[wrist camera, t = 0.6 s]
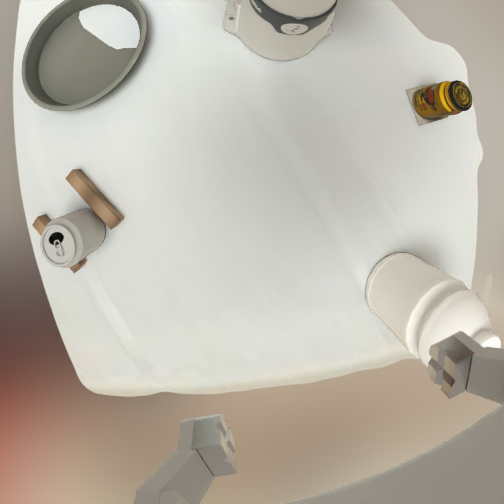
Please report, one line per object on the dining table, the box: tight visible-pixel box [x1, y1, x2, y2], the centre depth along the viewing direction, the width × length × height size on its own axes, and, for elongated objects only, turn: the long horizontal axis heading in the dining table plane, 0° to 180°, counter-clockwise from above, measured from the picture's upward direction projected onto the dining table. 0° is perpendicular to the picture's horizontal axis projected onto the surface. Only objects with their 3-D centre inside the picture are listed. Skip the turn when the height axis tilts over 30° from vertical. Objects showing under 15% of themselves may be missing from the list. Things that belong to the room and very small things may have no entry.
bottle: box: [366, 253, 501, 367], centre depth 44 cm, size 14×14×28 cm
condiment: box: [406, 80, 472, 126], centre depth 43 cm, size 7×8×12 cm
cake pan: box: [22, 0, 147, 111], centre depth 39 cm, size 25×25×4 cm
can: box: [40, 209, 105, 268], centre depth 44 cm, size 8×8×12 cm
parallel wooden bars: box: [33, 169, 124, 273], centre depth 47 cm, size 12×13×3 cm
